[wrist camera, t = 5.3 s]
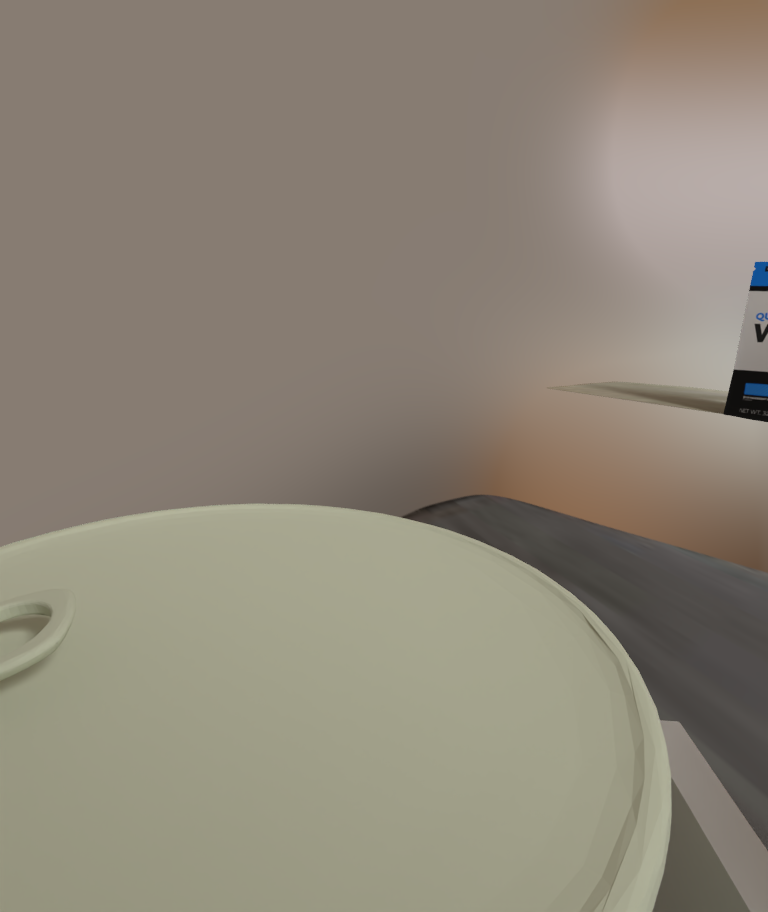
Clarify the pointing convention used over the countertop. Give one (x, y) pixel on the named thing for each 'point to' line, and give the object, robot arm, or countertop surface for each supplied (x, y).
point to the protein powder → (752, 354)
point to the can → (315, 723)
